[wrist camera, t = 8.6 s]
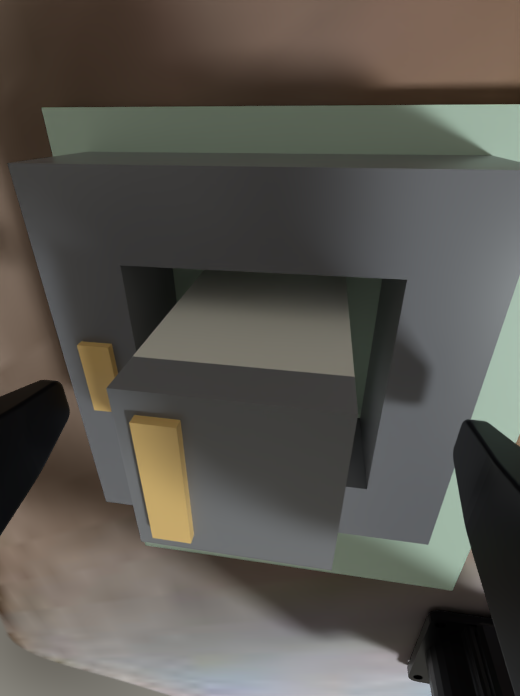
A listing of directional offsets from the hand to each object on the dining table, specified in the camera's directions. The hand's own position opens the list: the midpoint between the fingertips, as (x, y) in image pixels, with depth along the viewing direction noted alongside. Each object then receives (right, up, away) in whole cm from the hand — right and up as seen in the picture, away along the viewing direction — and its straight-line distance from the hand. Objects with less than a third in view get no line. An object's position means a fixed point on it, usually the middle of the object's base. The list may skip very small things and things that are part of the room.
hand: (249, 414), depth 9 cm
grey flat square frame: (+1, +2, +3) cm, 4 cm away
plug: (+1, +2, +3) cm, 4 cm away
